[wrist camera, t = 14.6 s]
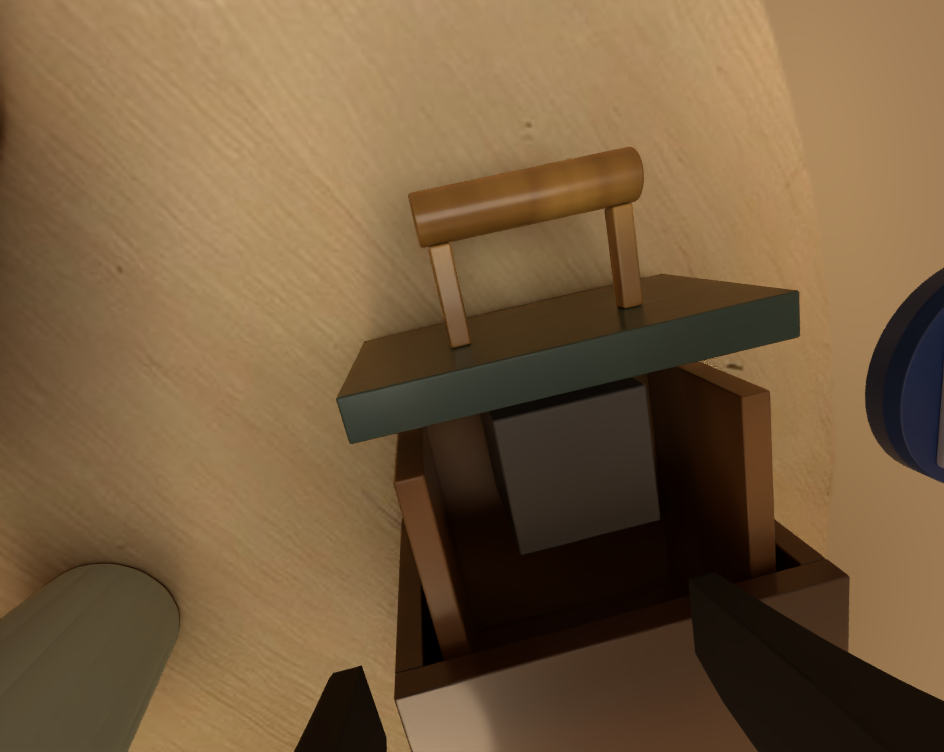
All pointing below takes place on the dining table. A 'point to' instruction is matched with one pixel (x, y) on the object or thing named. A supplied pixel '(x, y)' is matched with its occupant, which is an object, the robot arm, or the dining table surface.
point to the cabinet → (595, 671)
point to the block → (574, 464)
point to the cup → (83, 660)
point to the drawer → (561, 371)
